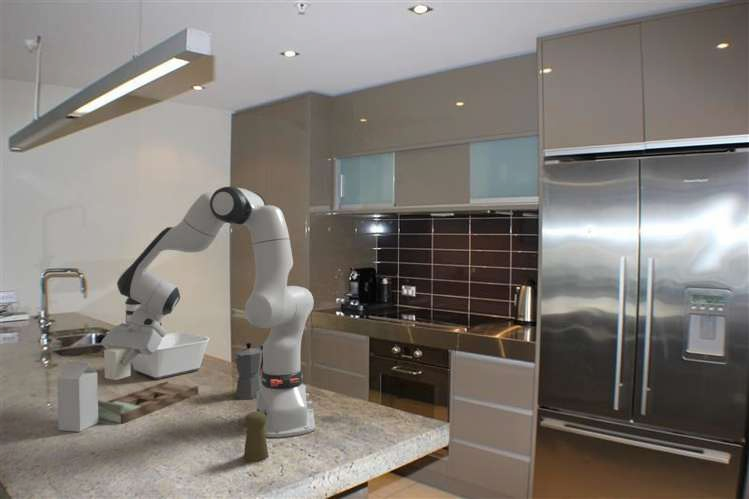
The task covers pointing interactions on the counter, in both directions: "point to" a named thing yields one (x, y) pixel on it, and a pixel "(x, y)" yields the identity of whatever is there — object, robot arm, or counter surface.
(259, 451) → the olive tapered knob-topped piece
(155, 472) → the counter surface
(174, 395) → the box
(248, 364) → the coffeepot
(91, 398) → the milk carton
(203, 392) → the counter surface
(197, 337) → the tub
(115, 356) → the cream block
